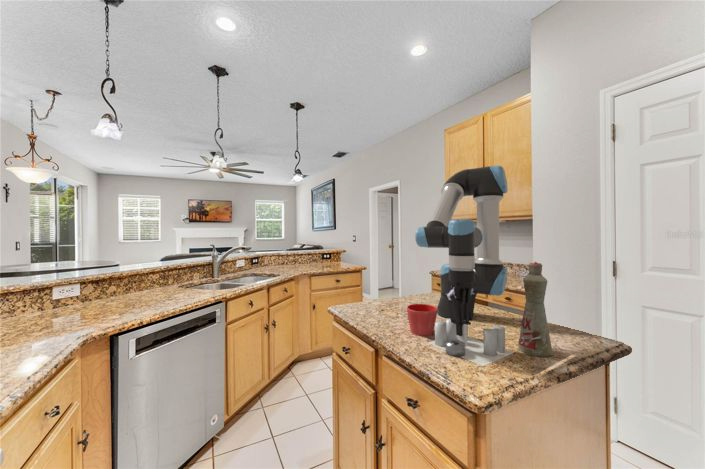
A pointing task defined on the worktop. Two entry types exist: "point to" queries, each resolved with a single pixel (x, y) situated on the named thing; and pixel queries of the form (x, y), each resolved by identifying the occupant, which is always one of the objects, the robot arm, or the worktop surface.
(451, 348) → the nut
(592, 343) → the worktop surface
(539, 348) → the bottle
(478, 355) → the board
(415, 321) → the flower pot
